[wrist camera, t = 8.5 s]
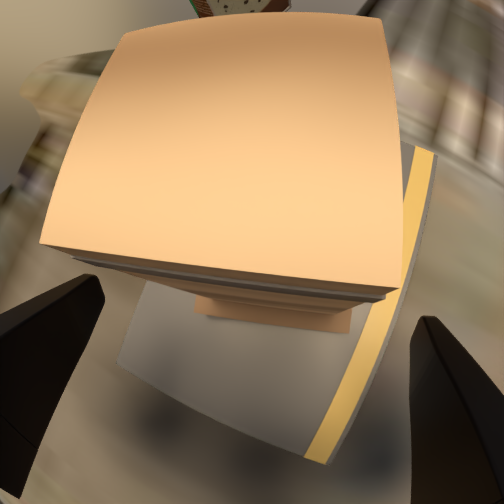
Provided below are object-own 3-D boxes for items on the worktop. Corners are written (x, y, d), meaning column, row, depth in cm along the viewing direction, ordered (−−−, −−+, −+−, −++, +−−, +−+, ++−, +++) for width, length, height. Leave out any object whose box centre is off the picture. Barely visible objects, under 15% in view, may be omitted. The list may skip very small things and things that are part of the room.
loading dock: (328, 448, 16) (330, 466, 13) (136, 360, 19) (114, 363, 16) (425, 174, 18) (438, 155, 16) (244, 117, 21) (236, 95, 19)
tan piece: (344, 332, 15) (449, 353, 3) (205, 313, 16) (8, 279, 5) (355, 205, 16) (410, 7, 4) (225, 194, 17) (112, 22, 6)
